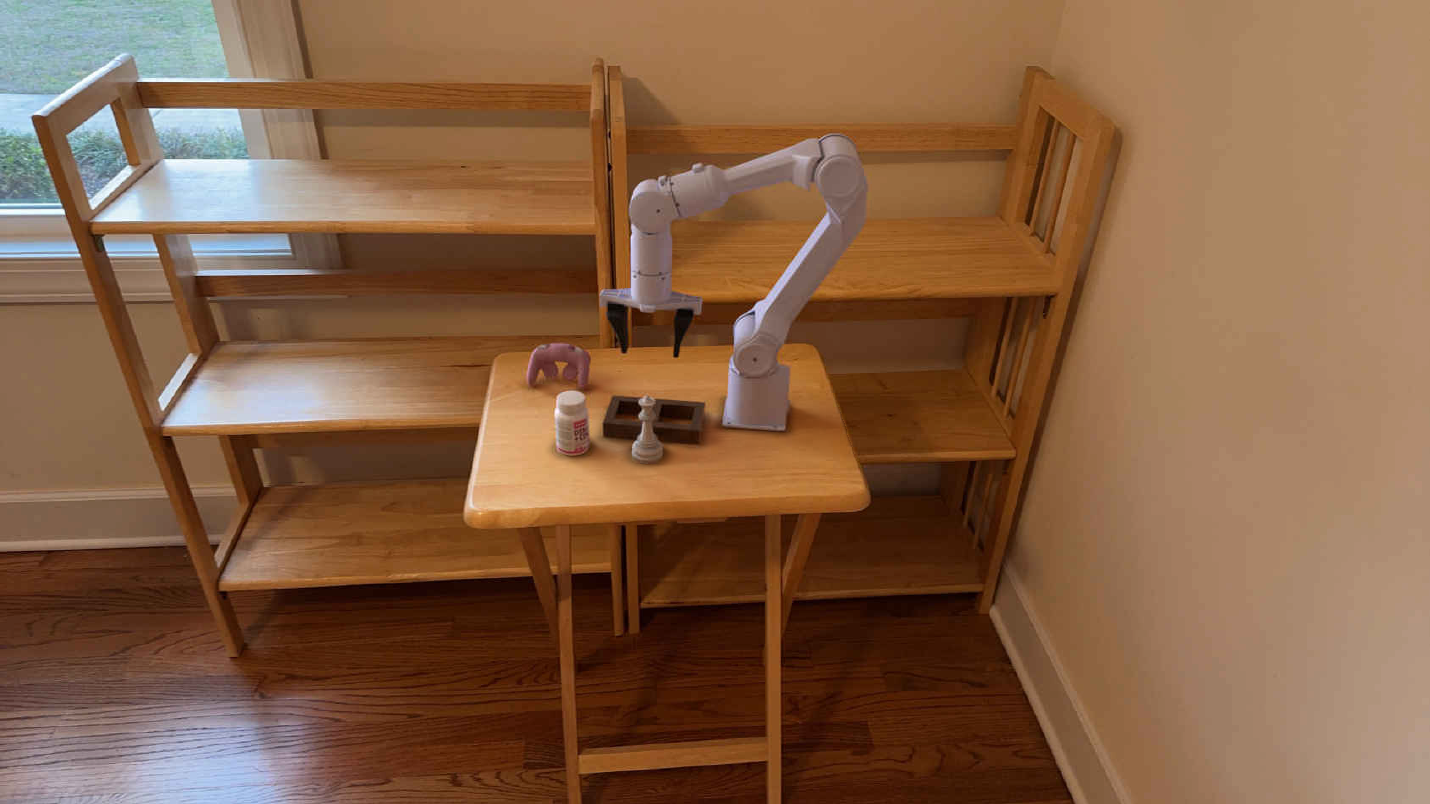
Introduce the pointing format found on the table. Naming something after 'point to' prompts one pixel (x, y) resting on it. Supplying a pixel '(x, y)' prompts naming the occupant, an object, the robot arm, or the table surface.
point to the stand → (655, 420)
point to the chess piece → (647, 435)
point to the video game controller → (559, 352)
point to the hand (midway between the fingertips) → (650, 352)
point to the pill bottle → (572, 423)
